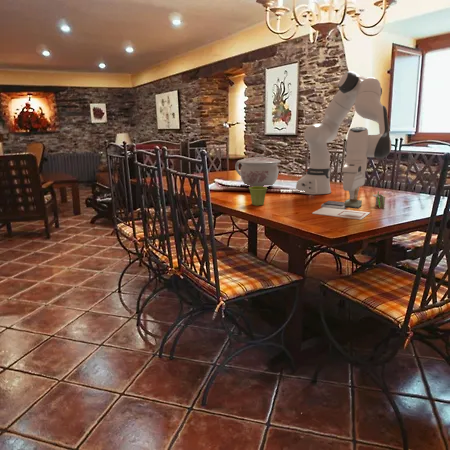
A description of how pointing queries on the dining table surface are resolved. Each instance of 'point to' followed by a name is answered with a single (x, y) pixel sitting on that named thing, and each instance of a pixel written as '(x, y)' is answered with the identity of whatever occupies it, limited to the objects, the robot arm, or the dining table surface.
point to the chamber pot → (258, 170)
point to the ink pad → (334, 204)
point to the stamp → (353, 201)
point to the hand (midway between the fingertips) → (353, 197)
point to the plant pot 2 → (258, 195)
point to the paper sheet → (341, 213)
